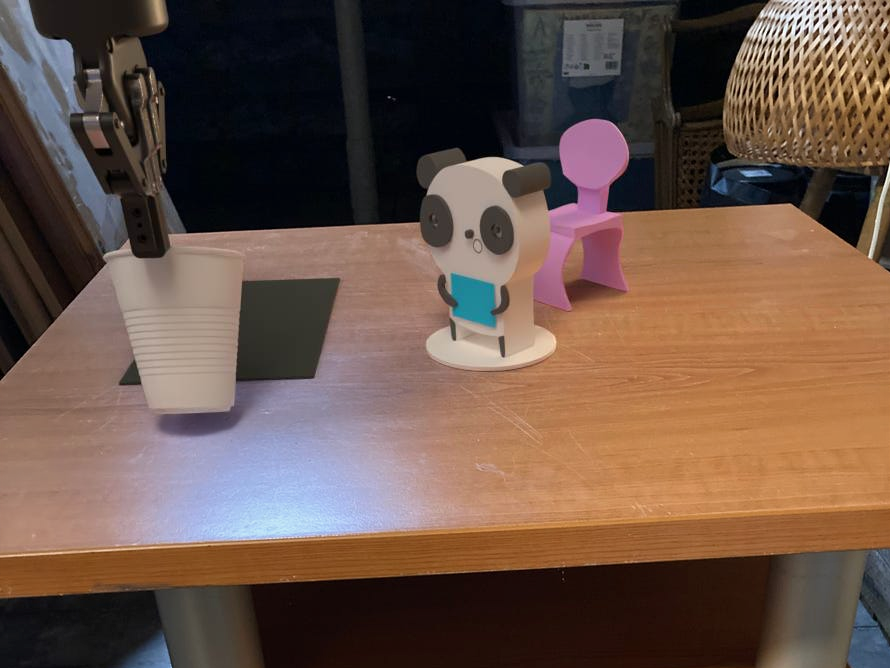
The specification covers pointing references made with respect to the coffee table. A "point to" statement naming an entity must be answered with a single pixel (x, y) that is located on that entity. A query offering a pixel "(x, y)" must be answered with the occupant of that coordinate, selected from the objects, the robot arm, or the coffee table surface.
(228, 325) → the cup
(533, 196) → the panda figurine
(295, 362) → the mat
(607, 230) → the toy chair
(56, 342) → the coffee table surface
